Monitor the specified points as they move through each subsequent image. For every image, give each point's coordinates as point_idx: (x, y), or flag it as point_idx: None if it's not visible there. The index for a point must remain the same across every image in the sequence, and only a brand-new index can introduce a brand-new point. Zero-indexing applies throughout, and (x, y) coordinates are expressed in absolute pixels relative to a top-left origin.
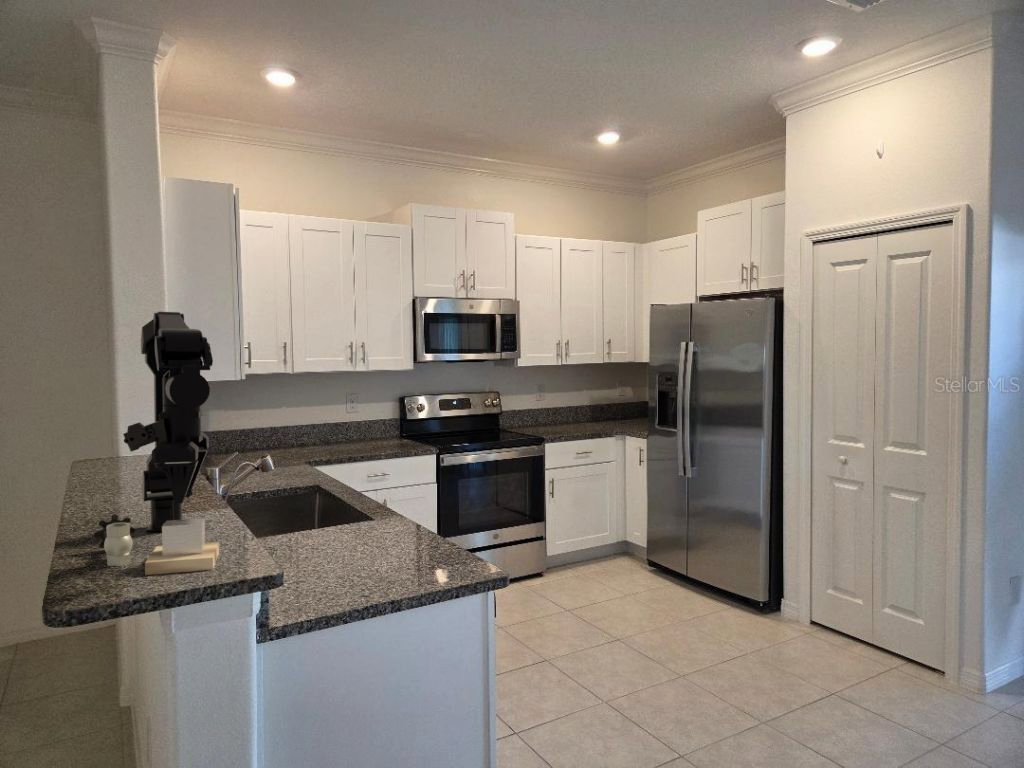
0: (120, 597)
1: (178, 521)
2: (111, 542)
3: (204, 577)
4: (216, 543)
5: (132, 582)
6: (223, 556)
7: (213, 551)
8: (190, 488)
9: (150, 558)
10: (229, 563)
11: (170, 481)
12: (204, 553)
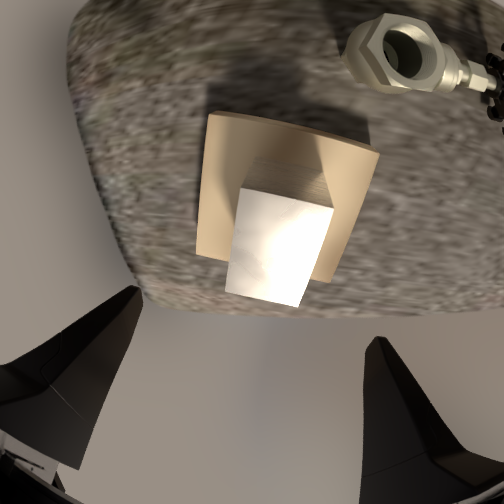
0: (92, 88)
1: (295, 242)
2: (357, 31)
3: (159, 220)
4: (317, 276)
5: (172, 89)
6: None
7: None
8: (367, 364)
9: (247, 126)
10: None
11: (47, 345)
12: None
